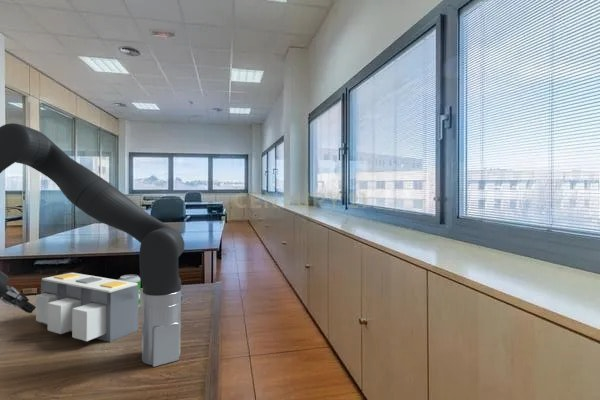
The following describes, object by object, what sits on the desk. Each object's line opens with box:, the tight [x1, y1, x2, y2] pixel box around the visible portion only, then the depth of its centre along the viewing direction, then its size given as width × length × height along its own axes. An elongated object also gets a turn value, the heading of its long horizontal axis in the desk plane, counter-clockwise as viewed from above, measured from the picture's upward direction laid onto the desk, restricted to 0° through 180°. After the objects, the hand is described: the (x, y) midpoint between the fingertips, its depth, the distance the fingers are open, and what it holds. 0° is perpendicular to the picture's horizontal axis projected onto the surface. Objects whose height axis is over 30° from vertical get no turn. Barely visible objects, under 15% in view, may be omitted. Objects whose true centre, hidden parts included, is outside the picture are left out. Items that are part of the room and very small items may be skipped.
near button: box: [71, 302, 107, 342], centre depth 97 cm, size 9×6×8 cm, turn 157°
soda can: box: [117, 274, 141, 308], centre depth 123 cm, size 8×8×12 cm
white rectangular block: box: [35, 293, 58, 324], centre depth 109 cm, size 9×6×8 cm, turn 157°
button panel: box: [40, 272, 139, 343], centre depth 107 cm, size 10×32×15 cm, turn 67°
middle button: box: [47, 297, 81, 335], centre depth 102 cm, size 9×6×8 cm, turn 157°
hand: (31, 309), depth 102 cm, fingers closed
